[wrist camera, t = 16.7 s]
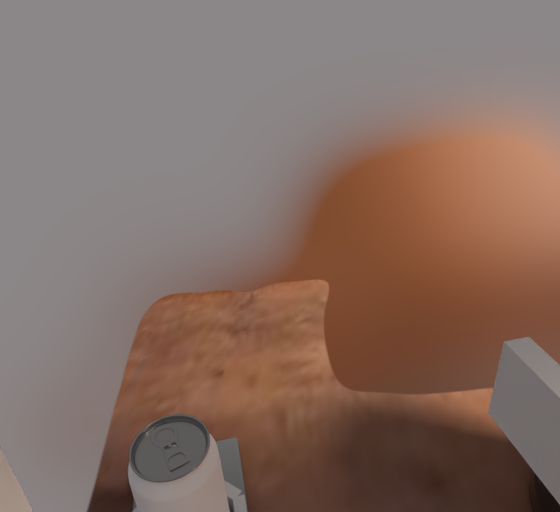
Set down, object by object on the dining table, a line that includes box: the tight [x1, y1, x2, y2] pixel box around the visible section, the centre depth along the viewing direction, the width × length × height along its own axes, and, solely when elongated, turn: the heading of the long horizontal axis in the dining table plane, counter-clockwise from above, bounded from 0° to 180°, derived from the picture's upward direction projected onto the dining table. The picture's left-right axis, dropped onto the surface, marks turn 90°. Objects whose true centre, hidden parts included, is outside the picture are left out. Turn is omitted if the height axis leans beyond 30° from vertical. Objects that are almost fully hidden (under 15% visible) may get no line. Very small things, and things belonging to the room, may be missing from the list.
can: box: [128, 414, 230, 512], centre depth 35 cm, size 6×6×12 cm
